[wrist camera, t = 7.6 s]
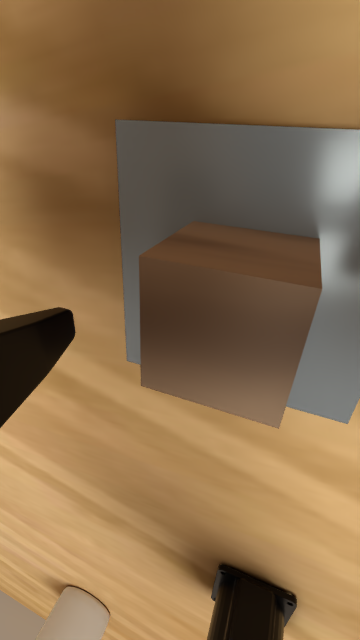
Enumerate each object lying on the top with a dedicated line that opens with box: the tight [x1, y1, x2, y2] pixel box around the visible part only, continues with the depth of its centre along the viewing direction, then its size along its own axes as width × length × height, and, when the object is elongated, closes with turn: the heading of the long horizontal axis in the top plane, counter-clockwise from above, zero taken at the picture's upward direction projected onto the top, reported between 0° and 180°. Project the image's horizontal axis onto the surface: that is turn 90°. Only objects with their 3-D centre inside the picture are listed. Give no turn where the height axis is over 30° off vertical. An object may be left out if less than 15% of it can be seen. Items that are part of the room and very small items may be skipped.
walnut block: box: [139, 221, 322, 429], centre depth 12 cm, size 5×5×5 cm
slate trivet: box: [115, 120, 360, 424], centre depth 14 cm, size 12×12×1 cm
